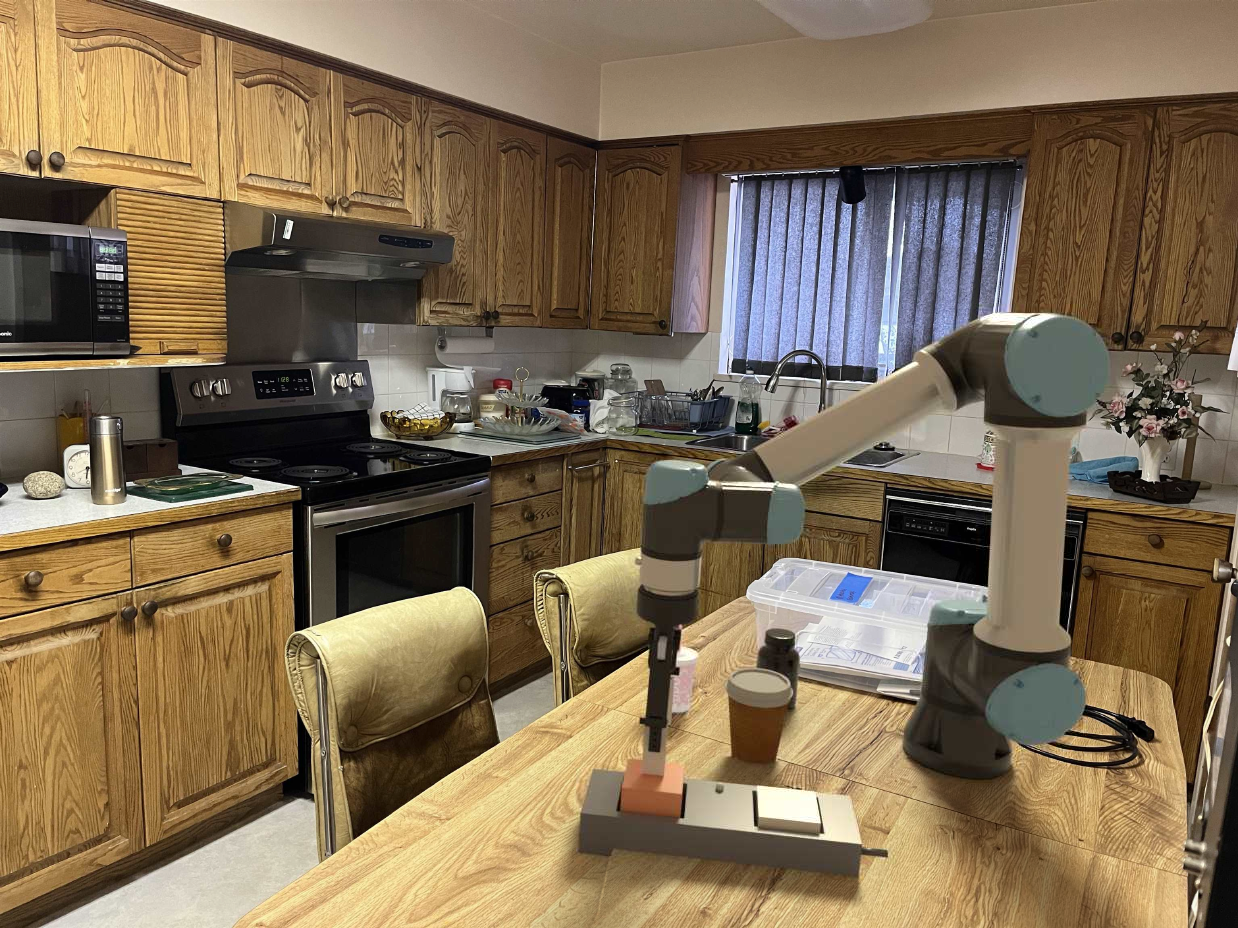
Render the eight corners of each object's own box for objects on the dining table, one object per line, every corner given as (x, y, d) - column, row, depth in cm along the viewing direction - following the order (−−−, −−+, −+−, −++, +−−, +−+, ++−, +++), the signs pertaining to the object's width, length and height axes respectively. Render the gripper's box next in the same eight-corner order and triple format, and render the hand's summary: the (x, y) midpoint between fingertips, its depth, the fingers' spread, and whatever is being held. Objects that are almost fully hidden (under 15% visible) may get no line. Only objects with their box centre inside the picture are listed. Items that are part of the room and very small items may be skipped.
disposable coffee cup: (786, 779, 126) (793, 697, 124) (716, 769, 128) (722, 688, 126) (787, 748, 135) (794, 671, 133) (723, 739, 137) (728, 663, 135)
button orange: (681, 801, 114) (684, 764, 113) (679, 833, 107) (681, 793, 106) (626, 795, 115) (628, 758, 114) (619, 826, 108) (621, 787, 107)
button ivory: (811, 828, 113) (815, 791, 112) (816, 862, 106) (820, 823, 105) (753, 822, 113) (757, 785, 113) (755, 855, 107) (758, 816, 106)
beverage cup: (650, 709, 146) (656, 625, 144) (664, 695, 152) (669, 614, 149) (687, 717, 144) (693, 632, 141) (699, 702, 149) (705, 620, 147)
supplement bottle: (744, 699, 151) (750, 630, 149) (773, 690, 156) (779, 623, 154) (775, 715, 146) (781, 643, 144) (804, 705, 150) (810, 635, 148)
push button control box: (879, 836, 114) (883, 793, 113) (894, 888, 103) (899, 841, 102) (591, 804, 117) (593, 762, 116) (578, 851, 107) (580, 806, 106)
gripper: (646, 556, 126) (637, 702, 130) (627, 616, 101) (616, 793, 105) (701, 561, 125) (690, 707, 129) (695, 623, 101) (681, 801, 104)
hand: (657, 746), depth 117 cm, fingers open, 13 cm apart
